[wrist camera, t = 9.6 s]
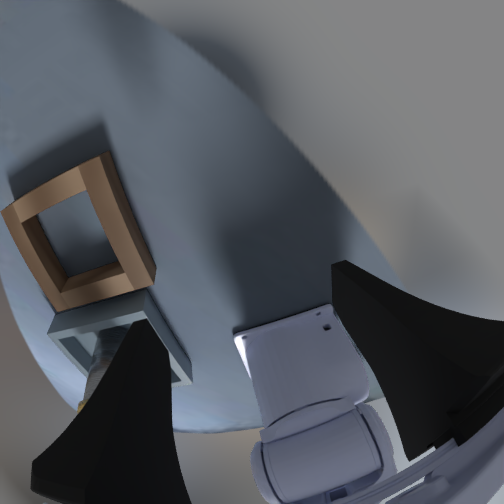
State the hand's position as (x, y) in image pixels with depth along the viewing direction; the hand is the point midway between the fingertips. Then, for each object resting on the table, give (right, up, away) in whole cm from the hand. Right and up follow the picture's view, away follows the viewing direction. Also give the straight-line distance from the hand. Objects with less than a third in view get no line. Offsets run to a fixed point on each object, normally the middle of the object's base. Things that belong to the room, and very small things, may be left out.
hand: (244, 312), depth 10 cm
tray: (-12, -6, +12) cm, 18 cm away
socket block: (-12, +4, +6) cm, 14 cm away
